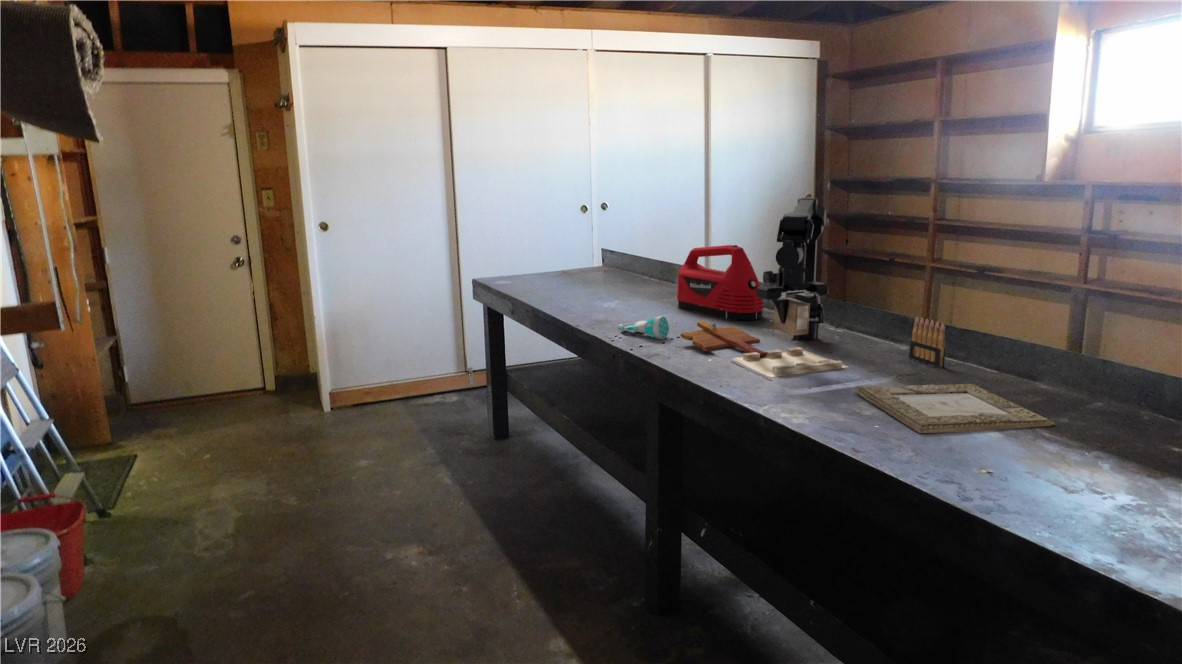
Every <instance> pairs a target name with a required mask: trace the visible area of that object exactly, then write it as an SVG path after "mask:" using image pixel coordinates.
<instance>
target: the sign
mask: <svg viewBox="0 0 1182 664" xmlns="http://www.w3.org/2000/svg"><path fill="white" fill-rule="evenodd" d="M696 326H697V328H700V329H698V330H692V331H685V332H680V335H679V337H681V338H682V339H684V340H686V341H691V344H692V345H693V346H695V347H698V348H700V349H702V351H704V352H708V351H711V350H716V349H723V348H735V347H736V348H738V349H739V350H741V351H743V352H744V353H753V352H757V353H759V354H760V358H762V357H765V356H766V352H765V351H763V350H761V349H759V348H757V347H754V346H752V345H754V344H760V343H761V339H760V338H758V337H755V336H754V335H753V336H752V335H751V334H749V333H748V332H745V331H743V330H740V327H738V326H734V325H731V326H722V327H721V326H719V327H717V322H715V323H713V324H712V323H710V322H708V321H706V320H701V321H699V320H698V321H697V322H696Z"/></svg>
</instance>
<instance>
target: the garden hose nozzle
mask: <svg viewBox="0 0 1182 664" xmlns="http://www.w3.org/2000/svg"><path fill="white" fill-rule="evenodd" d="M618 328H619V329H620V330H621V331H624V332H627V331H634V332H638V333H643V334H646V335H647V336H649V337H650V338H653V339H657V340H664V339H666V338H667V337H668V334H669V332H670V331H669V330H670V324H669V321H668V319H667V317H665V316H663V315H662V316H661V315H659V316H656V317H651V318H649V320H639V321H637V322H635V323H634V325H627V324H618Z"/></svg>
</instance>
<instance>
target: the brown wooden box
mask: <svg viewBox="0 0 1182 664" xmlns="http://www.w3.org/2000/svg"><path fill="white" fill-rule="evenodd" d="M786 299H789V305H788V311H787V317H786V321H785V324H782V323H781V321H780V318H779V314H778V311H777V308H776V306H775V304H774V303H773V305H774V306H773V307H774V308H773V327H772V329H774V330H777V331H780V332H783V333H784V334H785V333H786V334H789V335H792V336H793V335H803V334H808V330H809V313H810V303H807V302H803V301H799V300H796V299H794V298H791V297H786Z"/></svg>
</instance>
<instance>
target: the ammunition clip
mask: <svg viewBox="0 0 1182 664" xmlns="http://www.w3.org/2000/svg"><path fill="white" fill-rule="evenodd" d="M945 333H946V328H945V323H944V322H942V323H941V325H940V323H939V320H937V321H935V322H934V320H933V319H931V321H929V319H928V318H926V319H925V322H924V317H921V318H919V316H916V317H915V320H914V323H913V328H912V334H911V335H912V337H911V340H910V343H909V350H908V351H909V352H908V359H909V358H911V359H910V360H912V359H915V360H918V361H921V362H924V363H927V364H926V365H928V364H931V365H934V366H937V367H942V366H944V367H945V359H946V358H945V357H946V348H945V343H946V336H945ZM915 360H914V361H915ZM918 361H917V362H918ZM921 362H920V363H921ZM924 363H923V364H924ZM931 365H930V366H931ZM934 366H933V367H934ZM937 367H936V368H937ZM942 368H943V367H942Z"/></svg>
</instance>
